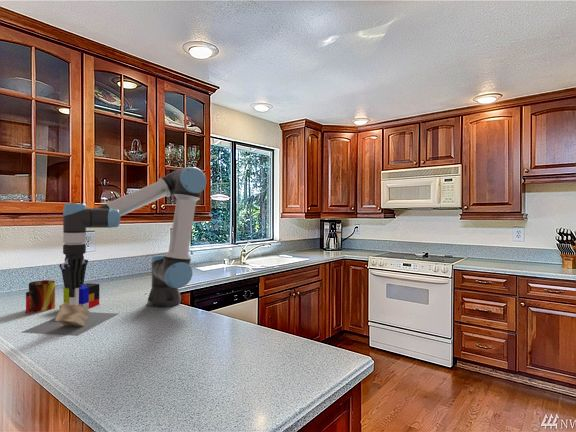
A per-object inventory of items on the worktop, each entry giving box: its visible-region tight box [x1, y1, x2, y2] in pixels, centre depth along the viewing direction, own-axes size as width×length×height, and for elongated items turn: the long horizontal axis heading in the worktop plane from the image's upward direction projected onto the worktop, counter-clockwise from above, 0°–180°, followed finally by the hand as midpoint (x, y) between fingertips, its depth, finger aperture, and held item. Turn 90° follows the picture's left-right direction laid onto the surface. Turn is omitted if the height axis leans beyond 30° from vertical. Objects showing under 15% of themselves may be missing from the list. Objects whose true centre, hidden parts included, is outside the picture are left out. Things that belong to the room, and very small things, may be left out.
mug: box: [25, 279, 56, 314], centre depth 158 cm, size 10×14×12 cm
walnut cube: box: [58, 302, 78, 309], centre depth 150 cm, size 5×5×5 cm
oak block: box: [55, 304, 91, 326], centre depth 138 cm, size 8×6×6 cm
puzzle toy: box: [62, 282, 100, 310], centre depth 163 cm, size 10×10×10 cm
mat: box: [21, 311, 119, 337], centre depth 143 cm, size 22×26×1 cm
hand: (74, 305), depth 138 cm, fingers closed
